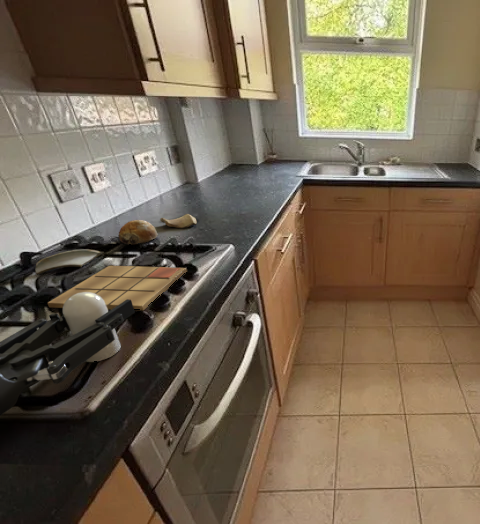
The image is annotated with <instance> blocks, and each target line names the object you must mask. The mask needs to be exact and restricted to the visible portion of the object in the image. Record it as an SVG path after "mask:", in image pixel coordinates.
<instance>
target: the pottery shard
mask: <svg viewBox="0 0 480 524" xmlns="http://www.w3.org/2000/svg"><path fill="white" fill-rule="evenodd" d="M159 221H160V222H161V223H163V224H165V225H166V227H167V226H168V227H172V228H177V229H186V228H189V227H191V226H194V225H195V226H196V225H197V223H198V221H197V219H196V217H195V216H192V215H191V214H189V213H185V214H184V215H183V216H181V217H176V218H172V219H166V218H165V217H161V218H160V219H159Z"/></svg>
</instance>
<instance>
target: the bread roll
mask: <svg viewBox="0 0 480 524" xmlns="http://www.w3.org/2000/svg"><path fill="white" fill-rule="evenodd" d="M117 236H118V240H119V241H120V242H121V243H123V244H125V245H129V244H131V245H139V244H138V243H141V244H145V243H146V242H147V243H148V242H150V241H151V242H152V241H154V240H155V239H157V237H158V236H159V234H158V232H157V229H156V227H155V226H153V224H152V223H150V222H149V221H146V220H142V219H134V220H133V219H132V220H129V221H127V222H126V223H125V224H124V225H122V226H121V227H120V230H119V231H118V235H117ZM153 239H154V240H153Z"/></svg>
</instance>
